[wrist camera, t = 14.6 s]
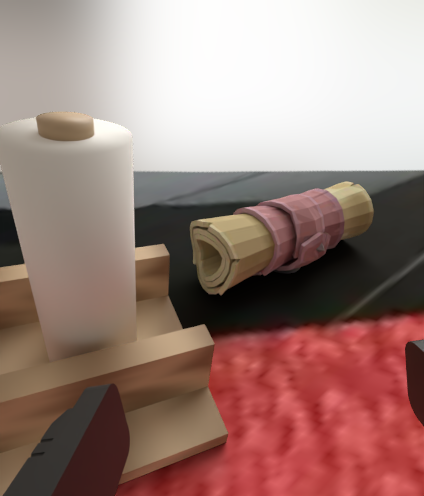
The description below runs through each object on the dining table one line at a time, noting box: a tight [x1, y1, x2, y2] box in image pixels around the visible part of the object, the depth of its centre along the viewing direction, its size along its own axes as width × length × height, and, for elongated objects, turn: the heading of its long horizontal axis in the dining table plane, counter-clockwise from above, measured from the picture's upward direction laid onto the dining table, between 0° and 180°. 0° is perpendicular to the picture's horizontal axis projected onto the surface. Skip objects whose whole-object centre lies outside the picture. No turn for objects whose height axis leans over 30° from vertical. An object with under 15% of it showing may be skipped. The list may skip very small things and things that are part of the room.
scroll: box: [190, 182, 374, 295], centre depth 32 cm, size 8×8×20 cm
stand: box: [0, 244, 228, 496], centre depth 21 cm, size 12×16×5 cm
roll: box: [0, 112, 137, 362], centre depth 18 cm, size 5×5×15 cm
